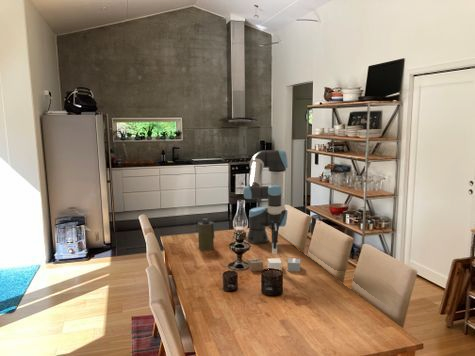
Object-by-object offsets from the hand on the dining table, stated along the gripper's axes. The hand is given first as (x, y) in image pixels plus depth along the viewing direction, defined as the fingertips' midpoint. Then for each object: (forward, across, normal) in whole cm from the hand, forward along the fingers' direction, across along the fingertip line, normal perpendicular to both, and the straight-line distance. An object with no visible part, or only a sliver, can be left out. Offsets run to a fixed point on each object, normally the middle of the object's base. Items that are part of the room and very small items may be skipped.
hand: (274, 253), depth 217 cm
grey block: (+9, +1, +11) cm, 14 cm away
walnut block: (+9, -1, -11) cm, 14 cm away
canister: (+9, -39, -41) cm, 57 cm away
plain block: (+9, 0, 0) cm, 9 cm away
